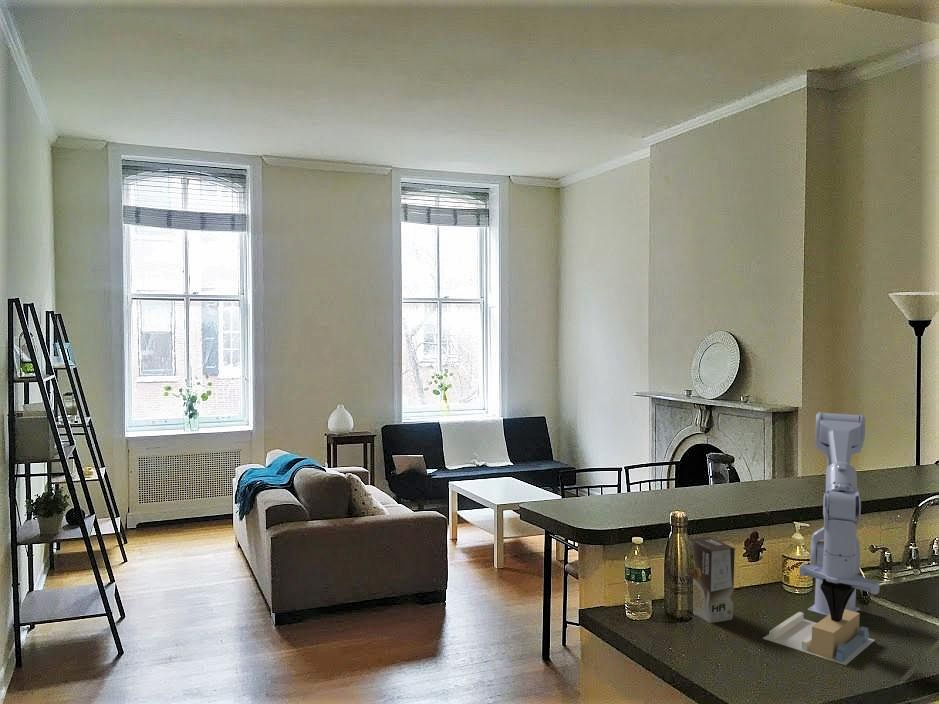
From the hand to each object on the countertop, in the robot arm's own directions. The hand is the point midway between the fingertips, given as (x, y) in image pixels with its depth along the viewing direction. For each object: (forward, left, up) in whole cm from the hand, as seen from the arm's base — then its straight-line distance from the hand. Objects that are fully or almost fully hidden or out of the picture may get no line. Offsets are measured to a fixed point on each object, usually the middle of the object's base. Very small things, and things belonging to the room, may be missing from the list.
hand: (836, 619), depth 154 cm
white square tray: (0, -3, -6) cm, 6 cm away
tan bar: (0, 0, -5) cm, 5 cm away
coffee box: (+4, -25, -6) cm, 26 cm away
